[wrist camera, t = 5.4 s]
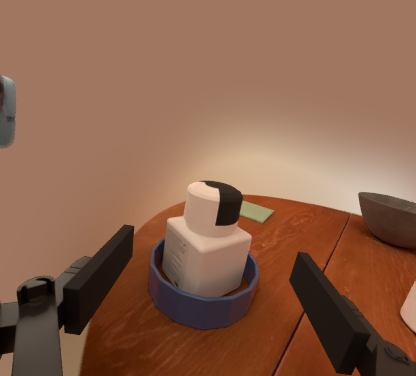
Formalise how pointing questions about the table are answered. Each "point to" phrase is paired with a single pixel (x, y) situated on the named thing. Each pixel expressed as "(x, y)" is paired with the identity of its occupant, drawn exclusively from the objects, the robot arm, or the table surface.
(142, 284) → the table surface
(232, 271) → the container
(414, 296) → the can
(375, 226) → the bowl
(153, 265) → the ring
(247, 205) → the mat
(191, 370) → the table surface
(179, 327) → the table surface
